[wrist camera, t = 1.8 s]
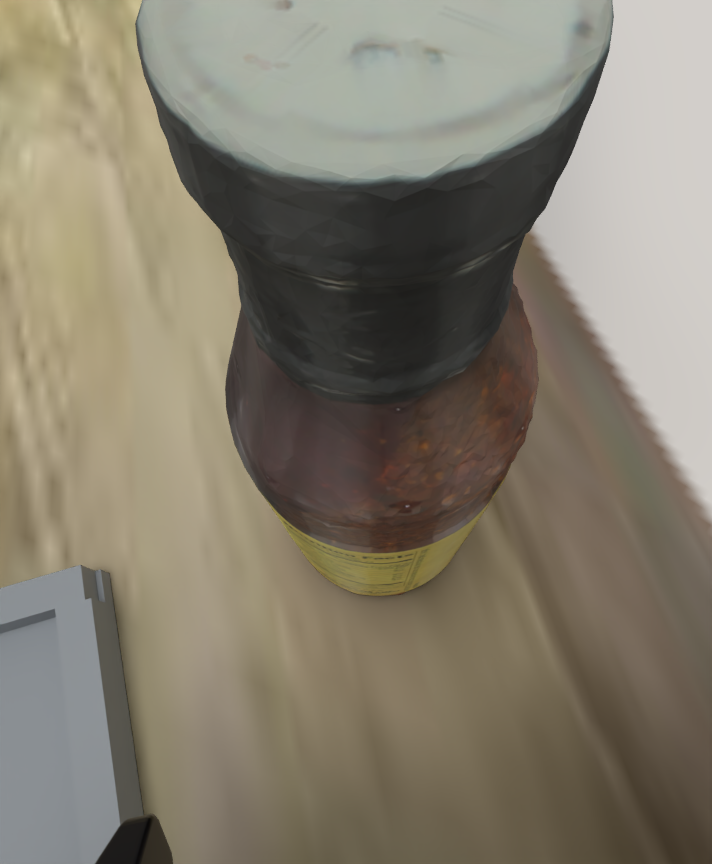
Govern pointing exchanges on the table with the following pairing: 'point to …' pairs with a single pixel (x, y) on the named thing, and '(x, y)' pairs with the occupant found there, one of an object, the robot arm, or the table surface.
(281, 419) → the sauce bottle
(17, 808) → the keeper tray
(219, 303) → the table surface
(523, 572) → the table surface
